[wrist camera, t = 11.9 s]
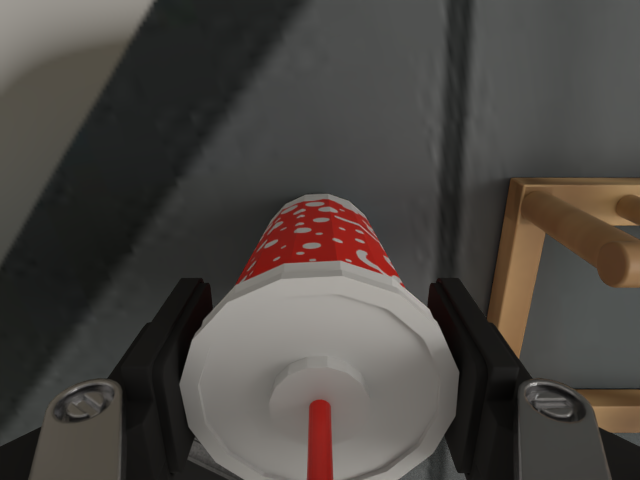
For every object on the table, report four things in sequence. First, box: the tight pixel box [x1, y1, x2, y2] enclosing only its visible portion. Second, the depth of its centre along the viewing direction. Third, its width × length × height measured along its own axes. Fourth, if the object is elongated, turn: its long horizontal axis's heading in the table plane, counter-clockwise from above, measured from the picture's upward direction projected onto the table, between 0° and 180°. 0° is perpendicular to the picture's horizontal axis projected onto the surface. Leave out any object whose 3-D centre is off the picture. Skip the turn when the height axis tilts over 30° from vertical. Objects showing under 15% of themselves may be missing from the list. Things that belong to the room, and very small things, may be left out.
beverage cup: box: [179, 194, 459, 480], centre depth 11 cm, size 6×6×14 cm
